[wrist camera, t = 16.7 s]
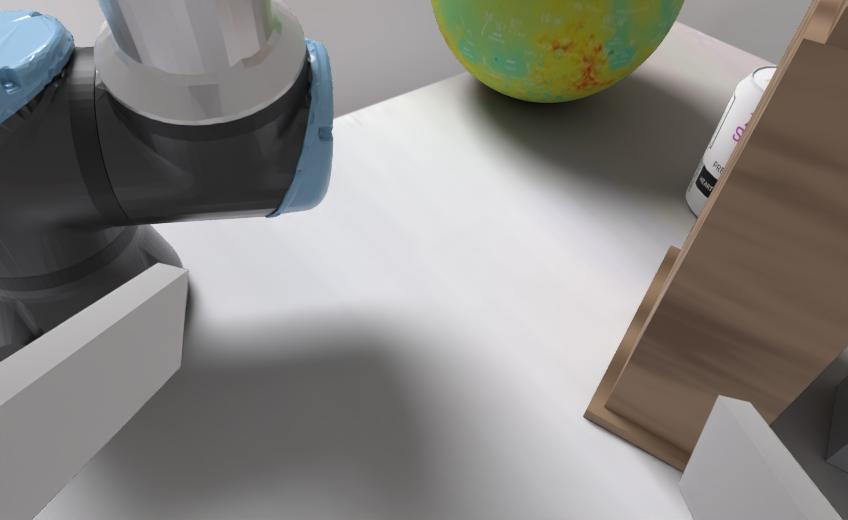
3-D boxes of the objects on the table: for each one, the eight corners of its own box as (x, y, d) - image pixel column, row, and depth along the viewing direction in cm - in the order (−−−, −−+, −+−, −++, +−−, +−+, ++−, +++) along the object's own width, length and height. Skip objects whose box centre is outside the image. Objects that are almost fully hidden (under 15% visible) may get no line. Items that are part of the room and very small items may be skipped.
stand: (728, 497, 41) (1209, 51, 17) (583, 416, 45) (813, -41, 21) (782, 302, 54) (1096, -102, 31) (667, 252, 58) (866, -141, 34)
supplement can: (747, 189, 66) (819, 66, 55) (771, 239, 60) (857, 112, 50) (675, 182, 66) (733, 58, 55) (693, 231, 60) (761, 103, 50)
